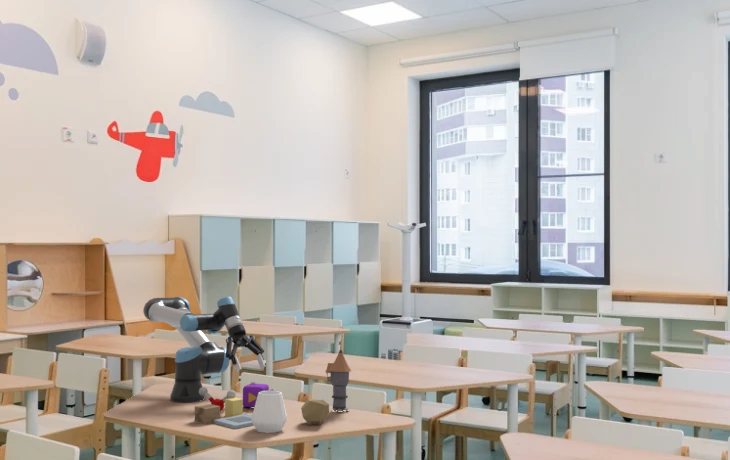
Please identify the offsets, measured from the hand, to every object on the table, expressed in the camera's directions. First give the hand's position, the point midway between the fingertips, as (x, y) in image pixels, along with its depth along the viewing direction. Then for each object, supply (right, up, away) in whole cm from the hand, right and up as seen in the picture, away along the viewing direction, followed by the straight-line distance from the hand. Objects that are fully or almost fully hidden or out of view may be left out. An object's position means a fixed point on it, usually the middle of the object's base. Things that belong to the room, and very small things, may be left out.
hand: (251, 369), depth 312 cm
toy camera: (+4, -16, -5) cm, 17 cm away
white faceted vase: (+14, -14, -47) cm, 51 cm away
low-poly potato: (+31, -15, -34) cm, 49 cm away
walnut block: (-12, -14, -35) cm, 39 cm away
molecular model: (-11, -15, -18) cm, 26 cm away
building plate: (+2, -14, -36) cm, 39 cm away
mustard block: (-3, -14, -25) cm, 29 cm away
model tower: (+39, -16, -11) cm, 43 cm away
